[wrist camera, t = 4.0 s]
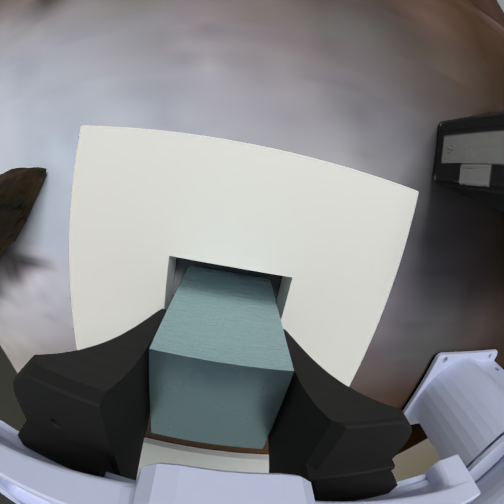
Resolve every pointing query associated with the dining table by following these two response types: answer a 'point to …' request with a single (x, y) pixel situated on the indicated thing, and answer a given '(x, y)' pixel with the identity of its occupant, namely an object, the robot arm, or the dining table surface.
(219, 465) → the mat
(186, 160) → the plate
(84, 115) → the dining table surface
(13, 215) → the dark brown wooden bar
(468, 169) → the camera
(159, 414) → the teal rectangular block
